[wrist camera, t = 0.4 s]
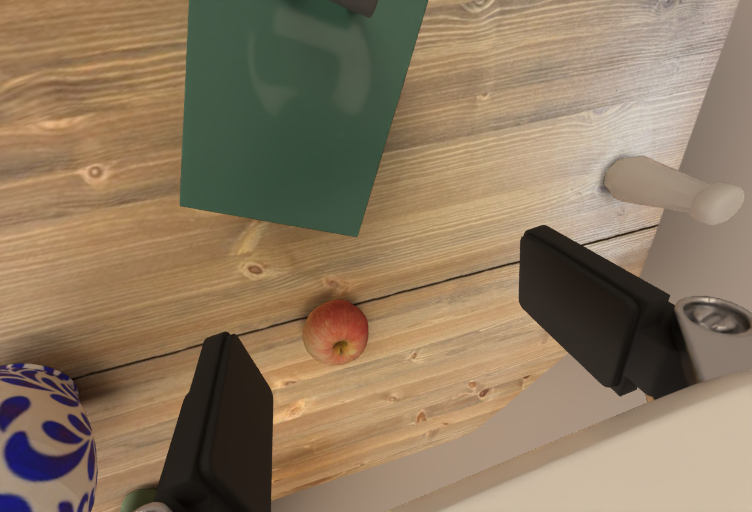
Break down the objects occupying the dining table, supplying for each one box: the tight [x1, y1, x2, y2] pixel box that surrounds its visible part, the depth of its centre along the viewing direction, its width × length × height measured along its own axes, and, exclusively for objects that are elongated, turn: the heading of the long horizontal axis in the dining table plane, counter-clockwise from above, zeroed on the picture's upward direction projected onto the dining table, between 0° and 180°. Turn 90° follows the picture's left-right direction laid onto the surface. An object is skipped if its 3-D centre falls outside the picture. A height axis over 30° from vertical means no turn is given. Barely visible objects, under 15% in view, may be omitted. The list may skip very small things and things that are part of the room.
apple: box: [303, 300, 368, 365], centre depth 39 cm, size 8×8×8 cm
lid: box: [180, 0, 428, 237], centre depth 19 cm, size 17×13×5 cm
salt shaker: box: [603, 156, 744, 225], centre depth 38 cm, size 6×6×13 cm
